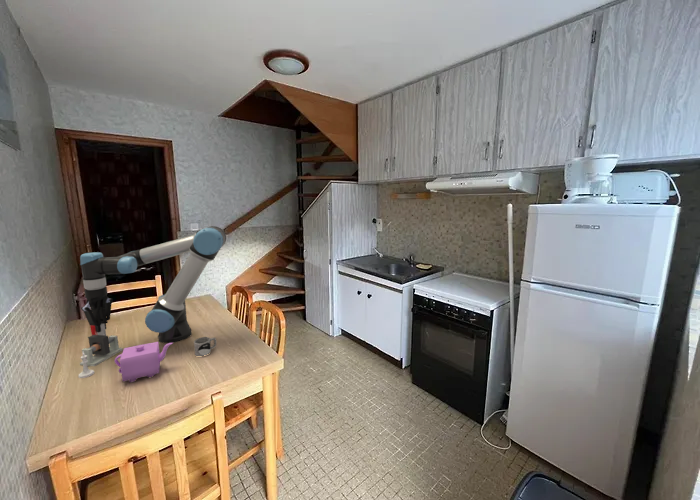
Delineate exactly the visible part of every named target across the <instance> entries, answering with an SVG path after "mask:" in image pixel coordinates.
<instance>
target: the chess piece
mask: <svg viewBox="0 0 700 500" xmlns="http://www.w3.org/2000/svg"><path fill="white" fill-rule="evenodd" d="M81 353H82V354H83V355H81V356H80V360H81V362H80V363H81V364H83V365H82V367H83V368H82V371H81V372H80V373H78V378H79V379H85V378H89V377H91V376H93V375H94V374H95V369H89V366H87V362H88V360H86V358H87V355H85V354H84V352H82V351H81Z"/></svg>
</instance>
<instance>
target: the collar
mask: <svg viewBox="0 0 700 500" xmlns="http://www.w3.org/2000/svg"><path fill="white" fill-rule="evenodd" d="M87 338H88V343H89V348H90V347H91V346H93V345H95V344H98V343H100V344H101V348H100V349H99V350H97V351H95V352H92V354H93V356H94V355H107V354H109V353H110V344H109V340H108V338H109V335H106V336H105V335H92V334H91V335H90V336H88V337H87Z"/></svg>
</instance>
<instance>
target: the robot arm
mask: <svg viewBox="0 0 700 500" xmlns="http://www.w3.org/2000/svg"><path fill="white" fill-rule="evenodd" d="M226 242H227V235H226V232H225V231H224V230H223V229H222V228H221V227H219V226H216V225H215V226H214V225H212V226H207V227H205V228H202V229H200V230H199V231H195V232H194V234H192V235H188V236H185V237H182V238H181V237H180V238H177V239H174V240H169V241H166V242H163V243H160V244H155V245H152V246H147V247H144V248H141V249H137V250H132V251H129V252H127V253H124V254H122V255H117V256H111V257H109V256H108V257H107V256H104V254H103V253H102V252H99V251H97V252H95V251H94V252H85V253H83V254H81V255H80V257H79V259H80V263H79V265H80V269H81V273H82V281H83V282H82V283H83V288H84V297H85V298H86V301H85V305H84V306H81V308H80V310H81V311H82V312H83V313H84V315H85V318H86V320H87V322H88V325H89V326H90V325H91V326H95V330H96V332H97V334H98V335H105V336H107V332H106V330H107V324H108V323H109V322H108V321H109V320H111V314H112V313H111V312H112V305H113V304H112V303H113V301H114V298H109V297H108V296H107V295H108V287H107V278H106V275H117V274H118V275H119V274H120V275H121V274H123V275H125V274H132V273H135V272H136V271H137V269H138V267H140V266H143V265H147V264H151V263H154V262H159V261H161V260H165V259H168V258H172V257H175V256H179V255H183V254H187V253H190V254H188V257H187V258H186V260H185V261H184V263H183V265H182V267H181V268H180V269H179V271H178V274H177V275H176V276H175V278H174V279H173V281H172V283H171V285H169V288H168V289H167V291H166V293H164V294H162V295H160V296H158V299H157V301H156V302H155V304H154V306H153V307H152V309H150V311H149V312H148V313H146V315H145V318H144V323H145V326H146V328H148V329H149V331H152V332H154V333H158V335H157V338H158V341H157V342H158V343H162V344H168V343H173V344H175V343H178V342H182V341H185V340H186V339H188V338H190V337H191V336H192V335H193V334H192V332H193V331H192V328H191V327H190V324H189V322H188V319H187V307H186V306H187V305H186V299H188V298H187V297H188V296H189V294H190V293H191V291H192V289H193V287H194V286H195V284H196V283H197V281H198V280H199V277H200V276H201V275H202V273H203V271H204V270H205V268H206V266H207V265H208V263H209V262H212V261H214V260H215V258H216V257H217V255H218V254H219V252H220V251H221V249H222V247H224V245H225V244H226Z"/></svg>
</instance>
